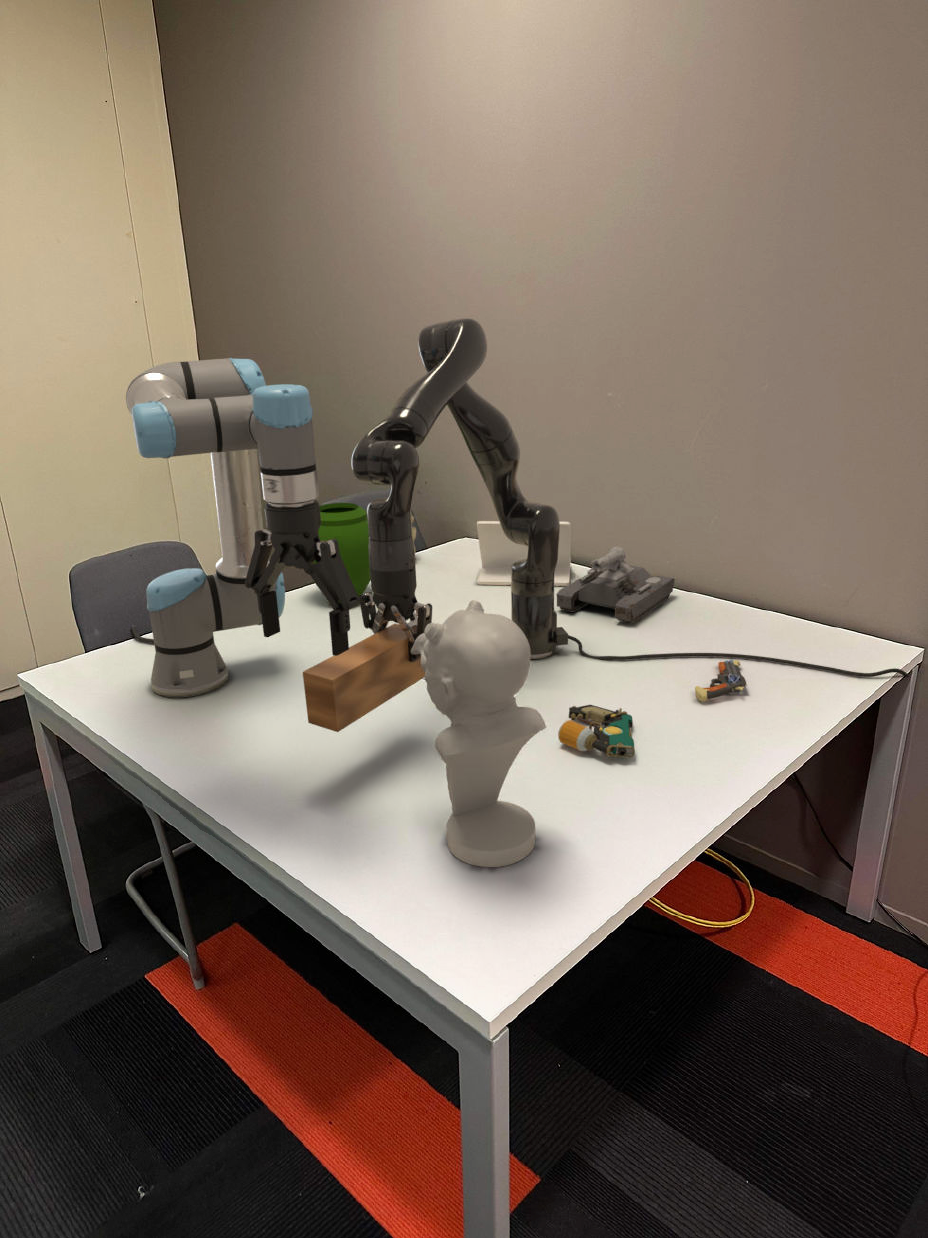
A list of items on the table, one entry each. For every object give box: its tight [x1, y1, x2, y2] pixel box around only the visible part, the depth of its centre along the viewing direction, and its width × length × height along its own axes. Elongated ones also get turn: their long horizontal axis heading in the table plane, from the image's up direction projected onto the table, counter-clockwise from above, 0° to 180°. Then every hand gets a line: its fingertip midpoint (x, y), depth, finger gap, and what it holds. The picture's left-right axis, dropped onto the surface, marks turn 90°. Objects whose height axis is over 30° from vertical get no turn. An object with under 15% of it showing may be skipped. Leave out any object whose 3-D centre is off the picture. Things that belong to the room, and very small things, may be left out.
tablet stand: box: [476, 520, 572, 587], centre depth 236 cm, size 18×25×17 cm
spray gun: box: [557, 704, 636, 759], centre depth 150 cm, size 4×17×15 cm
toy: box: [556, 546, 676, 624], centre depth 212 cm, size 25×20×15 cm
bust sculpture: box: [411, 599, 547, 868], centre depth 121 cm, size 16×24×35 cm
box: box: [302, 623, 425, 733], centre depth 139 cm, size 23×6×9 cm, turn 147°
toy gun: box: [694, 659, 749, 702], centre depth 169 cm, size 3×19×10 cm
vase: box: [313, 502, 371, 603], centre depth 220 cm, size 20×20×24 cm
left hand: (305, 643), depth 126 cm, fingers open, 13 cm apart
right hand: (398, 656), depth 146 cm, fingers closed on box, 6 cm apart
